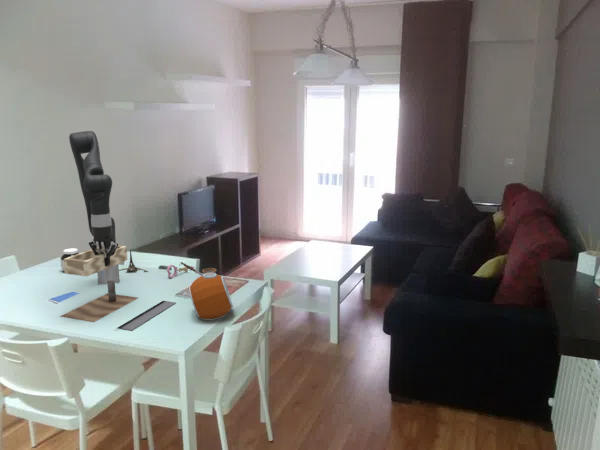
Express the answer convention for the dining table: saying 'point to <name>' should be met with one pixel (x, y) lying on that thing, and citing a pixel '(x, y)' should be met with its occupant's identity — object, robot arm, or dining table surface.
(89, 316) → the post stand
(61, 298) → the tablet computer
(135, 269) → the eiffel tower figurine
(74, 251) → the spread jar
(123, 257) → the wooden open box
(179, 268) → the decorative key
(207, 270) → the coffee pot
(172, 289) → the dining table surface
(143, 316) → the rubber mat
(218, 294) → the orange round jug
